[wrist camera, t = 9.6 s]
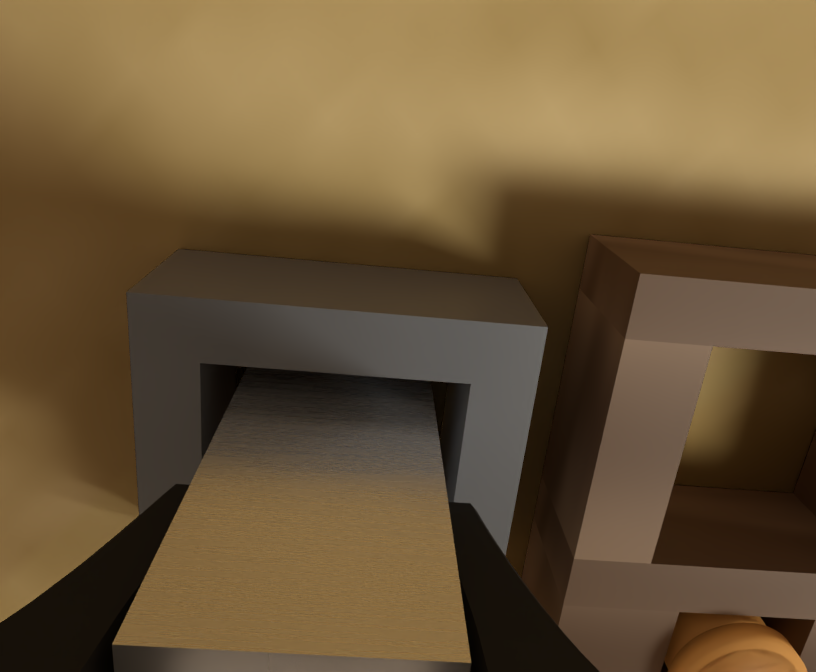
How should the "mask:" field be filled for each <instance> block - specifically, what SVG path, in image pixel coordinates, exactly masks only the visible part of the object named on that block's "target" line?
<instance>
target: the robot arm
mask: <svg viewBox="0 0 816 672" xmlns="http://www.w3.org/2000/svg"><path fill="white" fill-rule="evenodd" d="M189 486H190V485H186V484H175V485H174V486H173V487H172V488H170V489H169V490H168V491H167V492H166V493H164V494H163V495H162V496H161V497H160V498H158V499H157V500H156V501H155V502H154V503H153V504H152V505H151V506H149V507H148V508H147V509H146V510H145V511H144V512H143V513H141V514H140V515H139V516H138V517H137V518H136V519H135V520H133V521H132V522H131V523H130V524H129V525H128V526H126V527H125V528H124V529H123V530H122V531H121V532H120V533H118V534H117V535H116V536H115V537H114V538H112V539H111V540H110V541H109V542H107V543H106V544H105V545H104V546H103V547H101V548H100V549H99V550H98V551H97V552H95V553H94V554H93V555H92V556H91V557H89V558H88V559H87V560H86V561H84V562H83V563H82V564H81V565H79V566H78V567H77V568H76V569H74V570H73V571H72V572H70V573H69V574H68V575H66V576H65V577H64V578H62V579H61V580H60V581H58V582H57V583H56V584H54V585H53V586H52V587H50V588H49V589H48V590H46V591H45V592H44V593H43V594H41V595H40V596H39V597H37V598H36V599H35V600H33V601H32V602H30V603H29V604H27V605H26V606H25V607H23V608H22V609H20V610H19V611H17V612H16V613H14V614H13V615H11V616H10V617H8V618H7V619H5V620H4V621H2V622H1V623H0V672H114V664H113V652H112V643H113V641H114V639H115V637H116V635H117V633H118V631H119V629H120V627H121V625H122V623H123V621H124V619H125V617H126V615H127V613H128V611H129V609H130V606H131V604H132V602H133V600H134V598H135V596H136V594H137V592H138V590H139V588H140V586H141V584H142V582H143V580H144V578H145V576H146V574H147V572H148V570H149V568H150V565H151V563H152V561H153V559H154V557H155V555H156V553H157V551H158V549H159V547H160V545H161V543H162V541H163V539H164V537H165V535H166V533H167V531H168V529H169V527H170V524H171V522H172V520H173V518H174V516H175V514H176V512H177V510H178V508H179V506H180V504H181V502H182V500H183V498H184V496H185V494H186V492H187V490H188V488H189ZM448 504H449V511H450V518H451V525H452V532H453V539H454V546H455V553H456V560H457V567H458V573H459V580H460V587H461V594H462V601H463V608H464V615H465V622H466V629H467V636H468V643H469V650H470V657H471V668H470V672H600V671H599V670H598V669H597V668H596V667H595V666H594V665H593V664H592V663H591V662H590V661H589V660H588V659H587V658H586V657H585V656H584V655H583V654H582V653H581V652H580V651H579V649H578V648H577V647H576V646H575V645H574V644H573V643H572V642H571V640H570V639H569V638H568V637H567V636H566V635H565V633H564V632H563V631H562V630H561V629H560V627H559V626H558V625H557V624H556V623H555V621H554V620H553V619H552V618H551V617H550V615H549V614H548V613H547V612H546V610H545V609H544V608H543V607H542V605H541V604H540V603H539V602H538V600H537V599H536V598H535V596H534V595H533V594H532V592H531V591H530V590H529V588H528V587H527V586H526V584H525V583H524V581H523V580H522V579H521V577H520V576H519V575H518V573H517V572H516V571H515V569H514V568H513V566H512V565H511V563H510V562H509V561H508V559H507V558H506V556H505V555H504V553H503V552H502V550H501V549H500V547H499V546H498V544H497V543H496V541H495V540H494V538H493V537H492V535H491V533H490V532H489V530H488V529H487V527H486V525H485V524H484V522H483V521H482V519H481V517H480V516H479V514H478V512H477V511H476V509H475V508H474V507H473V506H472V504H471V503H458V502H448Z"/></svg>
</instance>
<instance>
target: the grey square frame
mask: <svg viewBox="0 0 816 672" xmlns="http://www.w3.org/2000/svg"><path fill="white" fill-rule="evenodd" d="M126 294H127V312H128V329H129V347H130V364H131V382H132V399H133V417H134V434H135V452H136V469H137V487H138V504H139V515H140V514H141V513H143V512H144V511H145V510H146V509H147V508H148V507H149V506H151V505H152V504H153V503H154V502H155V501H156V500H157V499H158V498H160V497H161V496H162V495H163V494H164V493H166V492H167V491H168V490H169V489H170V488H172V487H173V486H174V485H175V484H186V485H190V483H191V481H192V479H193V477H194V475H195V473H196V471H197V469H198V467H199V465H200V463H201V461H202V459H203V457H204V455H205V453H206V451H207V449H208V447H209V445H210V442H211V440H212V438H213V436H214V434H215V432H216V430H217V428H218V426H219V424H220V422H221V420H222V418H223V416H224V414H225V412H226V410H227V408H228V406H229V404H230V401H231V399H232V397H233V395H234V393H235V391H236V366H244V367H257V368H270V369H283V370H295V371H308V372H321V373H334V374H347V375H360V376H373V377H386V378H399V379H412V380H425V381H438V382H448V384H447V391H446V399H445V406H444V414H443V421H442V429H441V437H440V448H441V455H442V462H443V469H444V476H445V483H446V490H447V497H448V502H458V503H471V504H472V506H473V507H474V508H475V509H476V511H477V512H478V514H479V516H480V517H481V519H482V521H483V522H484V524H485V525H486V527H487V529H488V530H489V532H490V533H491V535H492V537H493V538H494V540H495V541H496V543H497V544H498V546H499V547H500V549H501V550H502V552H503V553H504V555H505V556H506V551H507V545H508V540H509V535H510V529H511V524H512V519H513V513H514V508H515V502H516V497H517V492H518V486H519V481H520V476H521V470H522V465H523V459H524V454H525V449H526V443H527V438H528V433H529V427H530V422H531V416H532V411H533V406H534V400H535V395H536V390H537V384H538V379H539V373H540V368H541V363H542V357H543V352H544V347H545V341H546V336H547V331H548V326H547V325H546V323H545V322H544V320H543V318H542V317H541V315H540V314H539V312H538V311H537V309H536V308H535V306H534V304H533V303H532V301H531V300H530V298H529V297H528V295H527V293H526V292H525V290H524V289H523V287H522V286H521V284H520V283H519V281H518V279H517V278H505V277H494V276H482V275H471V274H459V273H448V272H437V271H425V270H414V269H402V268H391V267H380V266H368V265H357V264H345V263H334V262H322V261H311V260H300V259H288V258H277V257H265V256H254V255H243V254H231V253H220V252H208V251H197V250H185V249H178V250H177V251H176V252H174V253H173V254H172V255H171V256H170V257H168V258H167V259H166V260H165V261H164V262H162V263H161V264H160V265H159V266H157V267H156V268H155V269H154V270H153V271H151V272H150V273H149V274H148V275H147V276H145V277H144V278H143V279H142V280H140V281H139V282H138V283H137V284H136V285H134V286H133V287H132V288H131V289H130V290H128V291H127V292H126Z"/></svg>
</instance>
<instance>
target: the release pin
mask: <svg viewBox="0 0 816 672" xmlns="http://www.w3.org/2000/svg"><path fill="white" fill-rule="evenodd" d="M664 662H665V664H666V666H667V668H668V672H807V669H806V666H805V664H804V663H803V661H802V660H801V658H800V657H799V655H798V654H797V653H796V651H795V650H794V648H793V647H792V645H791V644H790V643H789V641H788V640H787V639H786V638H785V637H784V636H783V635H782V634H781V633H779V632H778V631H776V630H774V629H772V628H770V627H768V626H766V625H765V623H764V622H763V620H762V619H761V617H758V616H740V615H723V614H705V613H687V612H679V615H678V618H677V621H676V624H675V628H674V631H673V634H672V637H671V640H670V643H669V647H668V650H667V653H666V656H665V659H664Z"/></svg>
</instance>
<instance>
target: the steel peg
mask: <svg viewBox="0 0 816 672" xmlns="http://www.w3.org/2000/svg"><path fill="white" fill-rule="evenodd" d="M112 652H113V664H114V672H470V668H471V657H470V650H469V643H468V636H467V629H466V622H465V615H464V608H463V601H462V594H461V587H460V580H459V573H458V567H457V560H456V553H455V546H454V539H453V532H452V525H451V518H450V511H449V504H448V497H447V490H446V483H445V476H444V469H443V462H442V455H441V448H440V441H439V434H438V427H437V420H436V413H435V406H434V399H433V392H432V385H431V381H425V380H412V379H399V378H386V377H373V376H360V375H347V374H334V373H321V372H308V371H295V370H283V369H270V368H257V367H247V369H246V371H245V373H244V375H243V377H242V379H241V381H240V383H239V385H238V387H237V389H236V391H235V393H234V395H233V397H232V399H231V401H230V404H229V406H228V408H227V410H226V412H225V414H224V416H223V418H222V420H221V422H220V424H219V426H218V428H217V430H216V432H215V434H214V436H213V438H212V440H211V442H210V445H209V447H208V449H207V451H206V453H205V455H204V457H203V459H202V461H201V463H200V465H199V467H198V469H197V471H196V473H195V475H194V477H193V479H192V481H191V483H190V486H189V488H188V490H187V492H186V494H185V496H184V498H183V500H182V502H181V504H180V506H179V508H178V510H177V512H176V514H175V516H174V518H173V520H172V522H171V524H170V527H169V529H168V531H167V533H166V535H165V537H164V539H163V541H162V543H161V545H160V547H159V549H158V551H157V553H156V555H155V557H154V559H153V561H152V563H151V565H150V568H149V570H148V572H147V574H146V576H145V578H144V580H143V582H142V584H141V586H140V588H139V590H138V592H137V594H136V596H135V598H134V600H133V602H132V604H131V606H130V609H129V611H128V613H127V615H126V617H125V619H124V621H123V623H122V625H121V627H120V629H119V631H118V633H117V635H116V637H115V639H114V641H113V643H112Z"/></svg>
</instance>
